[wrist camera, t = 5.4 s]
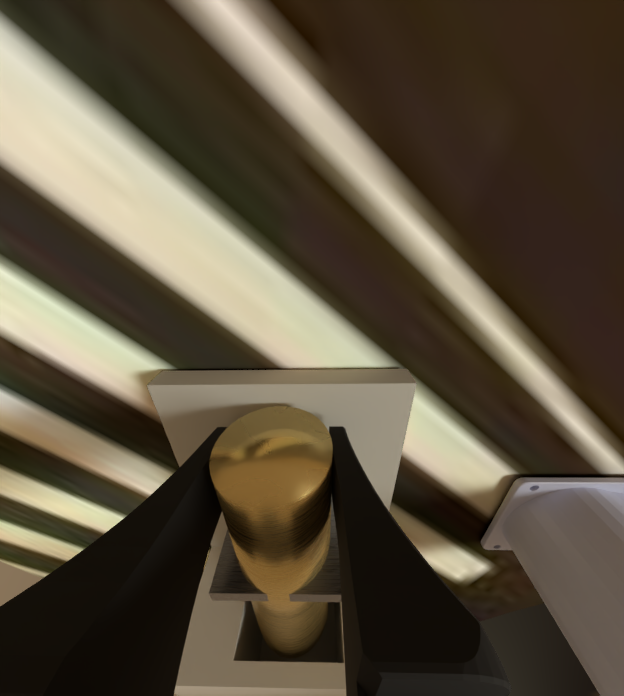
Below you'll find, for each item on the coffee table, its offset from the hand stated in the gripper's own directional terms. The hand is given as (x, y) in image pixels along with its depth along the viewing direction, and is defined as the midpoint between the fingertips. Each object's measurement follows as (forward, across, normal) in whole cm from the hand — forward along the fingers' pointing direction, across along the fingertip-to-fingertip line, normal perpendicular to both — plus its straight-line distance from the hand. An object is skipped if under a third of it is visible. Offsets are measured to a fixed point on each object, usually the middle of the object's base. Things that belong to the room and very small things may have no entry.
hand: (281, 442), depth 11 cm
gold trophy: (+1, 0, +5) cm, 5 cm away
